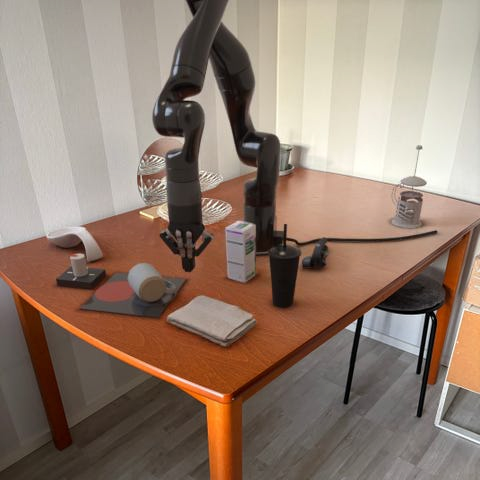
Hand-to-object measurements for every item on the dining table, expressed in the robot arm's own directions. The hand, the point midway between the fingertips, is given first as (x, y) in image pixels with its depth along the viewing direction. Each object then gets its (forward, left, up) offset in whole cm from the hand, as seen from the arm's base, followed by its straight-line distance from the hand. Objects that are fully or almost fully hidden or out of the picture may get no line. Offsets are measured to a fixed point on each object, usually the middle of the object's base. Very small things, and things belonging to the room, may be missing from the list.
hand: (189, 270), depth 117 cm
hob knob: (+32, -4, -6) cm, 33 cm away
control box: (+32, -4, -8) cm, 33 cm away
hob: (+15, 0, -8) cm, 17 cm away
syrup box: (-9, -15, -8) cm, 20 cm away
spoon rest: (+44, -23, -8) cm, 50 cm away
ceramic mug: (+10, 0, -8) cm, 13 cm away
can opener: (-28, -30, -8) cm, 42 cm away
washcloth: (-8, +10, -8) cm, 15 cm away
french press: (-53, -66, -8) cm, 85 cm away
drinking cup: (-22, -3, -8) cm, 24 cm away
